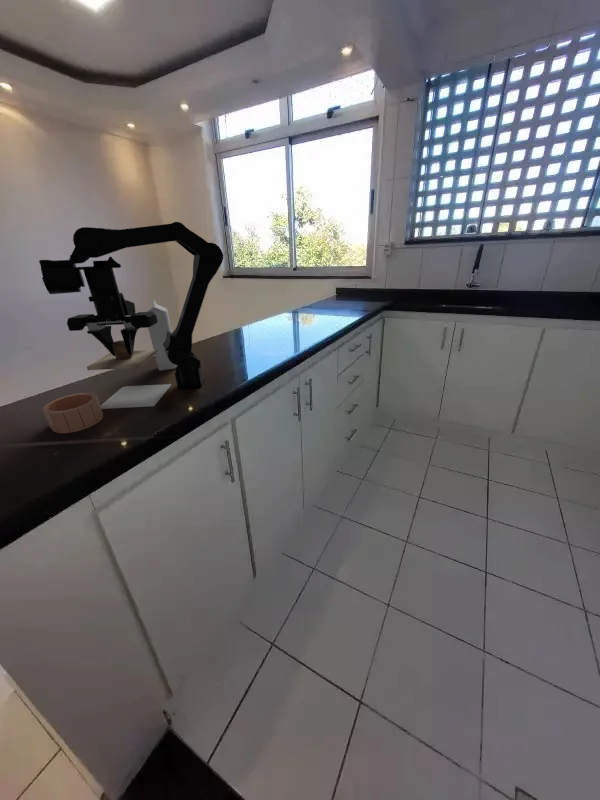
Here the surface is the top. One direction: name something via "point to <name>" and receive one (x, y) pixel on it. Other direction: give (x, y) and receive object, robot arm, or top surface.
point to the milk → (160, 336)
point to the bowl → (73, 412)
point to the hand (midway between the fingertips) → (123, 355)
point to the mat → (136, 396)
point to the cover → (122, 358)
